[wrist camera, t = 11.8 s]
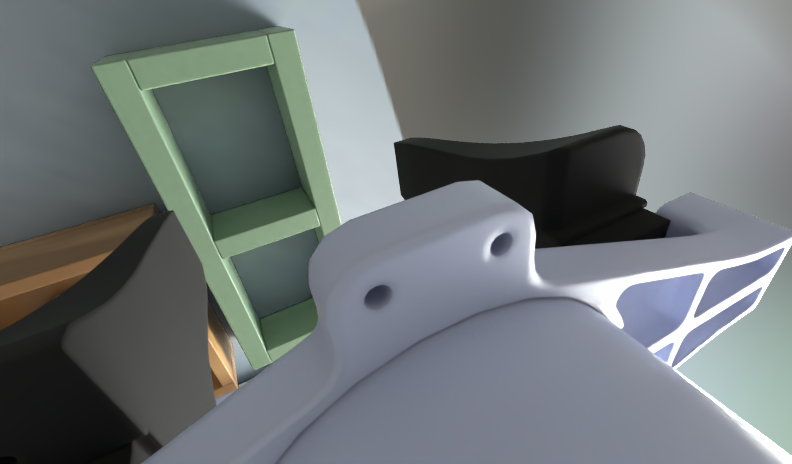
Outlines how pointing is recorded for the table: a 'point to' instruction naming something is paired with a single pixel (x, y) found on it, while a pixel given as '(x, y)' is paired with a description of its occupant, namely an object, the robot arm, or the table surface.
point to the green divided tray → (247, 224)
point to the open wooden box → (73, 259)
